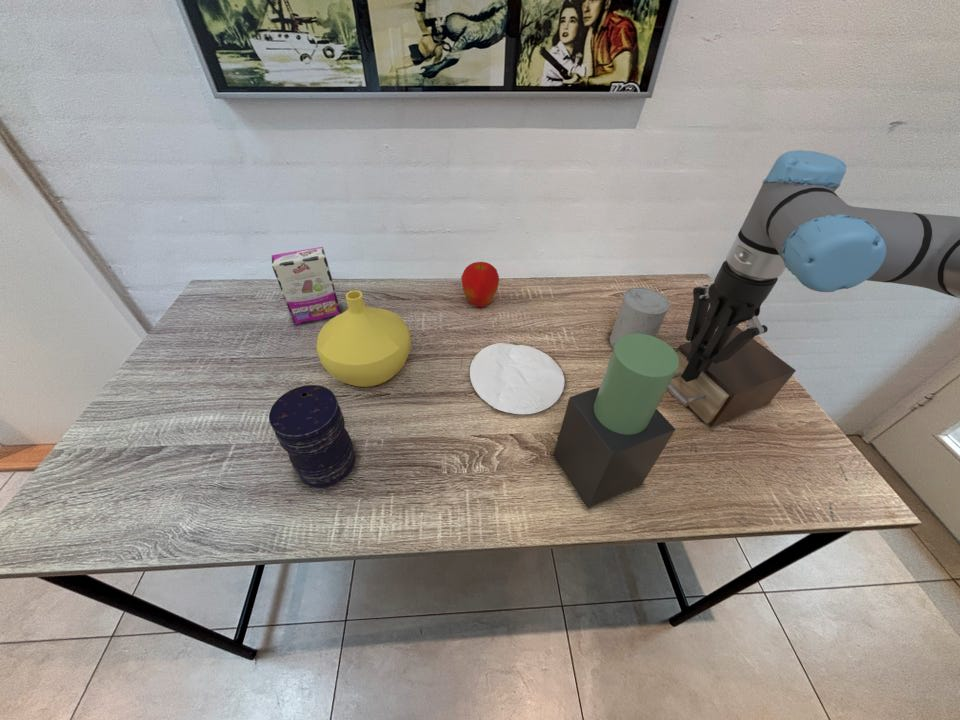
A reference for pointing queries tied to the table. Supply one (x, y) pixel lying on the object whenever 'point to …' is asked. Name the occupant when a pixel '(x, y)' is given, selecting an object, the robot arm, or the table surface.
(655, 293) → the grey concrete cylinder
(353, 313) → the vase
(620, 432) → the tin
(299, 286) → the candy bar box
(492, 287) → the apple
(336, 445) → the dark blue cylinder
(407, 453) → the table surface
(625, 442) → the riser
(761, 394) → the cabinet
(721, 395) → the drawer
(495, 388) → the plaque
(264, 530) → the table surface
